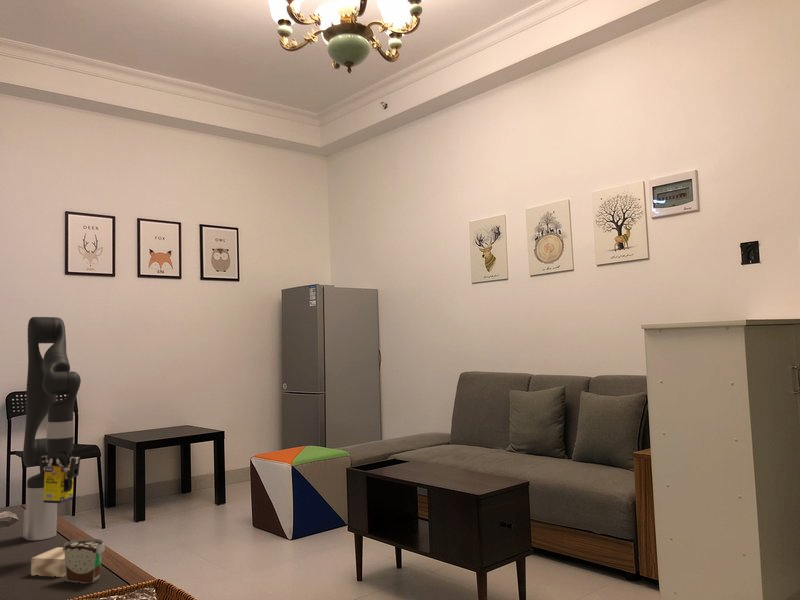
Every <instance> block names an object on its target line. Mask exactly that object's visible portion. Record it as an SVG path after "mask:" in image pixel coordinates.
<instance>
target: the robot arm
mask: <svg viewBox="0 0 800 600" xmlns="http://www.w3.org/2000/svg"><path fill="white" fill-rule="evenodd" d="M39 344H52V345H50V347H48V348H47V350H46V351H45V352H44V355H42V354H41V351H40V345H39ZM68 357H69V356H68V354H67V339H66V325H65V322H64V320H63V319H62V318H60V317H57V316H32V317H30V319H29V320H28V324H27V358H28V359H27V362H28V363H27V375H26V377H27V378H26V392H25V393H26V394H25V396H26V398H25V400H26V401H25V428H24V429H25V431H24V437H23V439H24V440H23V450H22V461H23V465H24V466H25V467H26V468H31V467H32V468H33V467H39V473H38V474H35V475H33V476H30V477H29V478H28V479H27V481H26V506H25V507H26V508H25V509H23V526H22V527H23V528H22V530H23V532H22V539H25V540H26V541H42V540H48V539H52V538H54V537H55V536H57V527H58V526H57V522H58V503H44V475H45V467H46V466H60V467H64V466H68V465H70V468H67V469H65V468H64V469H63V472H64V478H65V480H64V492H67V491H70V490H71V489H72V478H73V479H74V478H75V477H78V476H79V473H80V472H79V471H80V464H81V457H80V456H73V454H72V451H73V450H74V438H75V436H74V435H75V425H74V409H75V408H74V407H75V403H76V399H77V396H78V392H79V390H80V387H81V386H80V385H81V383H82V380H81V375H80V374H79V372H76V371H74V370H73V371H71V365H70V362H69V358H68ZM58 395H66V396H65V398H63V399H62V400H59V401H57V399H58V398H57V397H58ZM46 417H47V427H46V437H45V438H42V437H41V438H36V435H37V432H38V429H39V428H40V426H41V424H42V423H43V421H44V419H45V418H46ZM67 471H69V475H68V474H67Z"/></svg>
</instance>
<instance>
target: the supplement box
mask: <svg viewBox="0 0 800 600" xmlns="http://www.w3.org/2000/svg"><path fill="white" fill-rule="evenodd" d="M64 468H65V469H67V468H70V465H68V466H64V467H60V466H46V467H44V470H45V475H44V503H57V504H61V503H64V502H68V501H70V500H73V499H74V477H73V478H72V489H71V490H70V491H67V492H64V480H65V478H64V472H63V469H64ZM67 474H68V475H69V471H67Z"/></svg>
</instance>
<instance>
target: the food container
mask: <svg viewBox="0 0 800 600" xmlns="http://www.w3.org/2000/svg"><path fill="white" fill-rule="evenodd" d="M62 548H63V551H64V550H65V569H66V575H65V581H66V582H70V581H71V582H72V583H78V582H80V584H86V583H95V582H97V581H98V580H99V581H100V576H101V575H100V574H101V567H102V566H101V565H102V557H103V552H105V550H106V546H105V543H104V541H103V540H102V539H99V538H81V539H75V540H70V541H67V542H64V543H63V547H62ZM99 581H98V582H99ZM71 582H70V583H71ZM98 582H97V583H98ZM95 584H96V583H95Z"/></svg>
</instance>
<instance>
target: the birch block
mask: <svg viewBox="0 0 800 600" xmlns="http://www.w3.org/2000/svg"><path fill="white" fill-rule="evenodd" d="M30 559H31V560H30V561H31V562H30V565H31V566H30V575H31V576H35V575H39V577H54V578H55V576H56V577H57V578H59V577H60V578H64V577H66V569H65V550H64V551H63V547H55V548H52V549H49V550H47V551H45V552H42V553H40V554H38V555H36V556H33V557H31V558H30Z"/></svg>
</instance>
